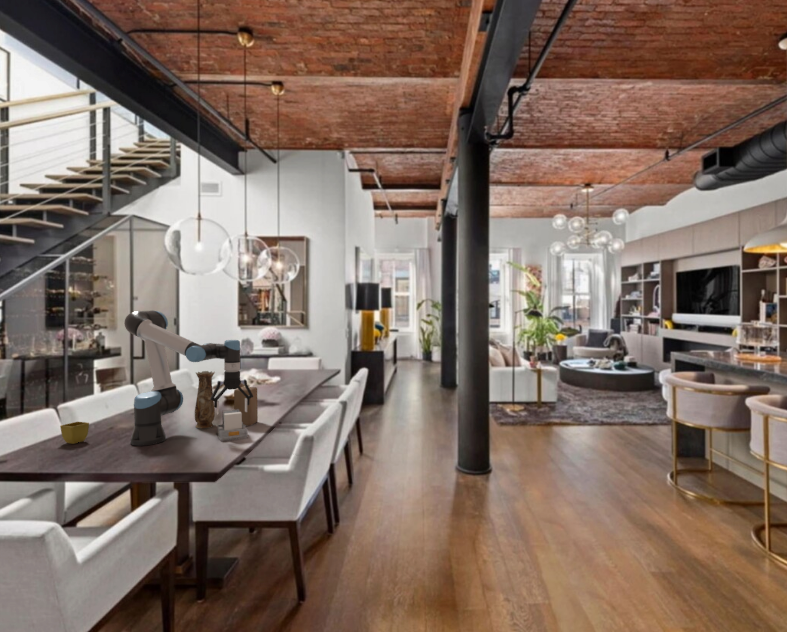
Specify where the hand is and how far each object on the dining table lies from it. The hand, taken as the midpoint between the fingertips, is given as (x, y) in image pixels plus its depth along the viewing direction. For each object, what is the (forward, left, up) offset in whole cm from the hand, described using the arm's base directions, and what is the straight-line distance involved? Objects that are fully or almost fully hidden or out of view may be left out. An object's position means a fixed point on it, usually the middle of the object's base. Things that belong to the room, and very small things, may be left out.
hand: (232, 412), depth 230 cm
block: (+10, +24, -12) cm, 29 cm away
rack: (0, +3, -12) cm, 12 cm away
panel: (0, 0, -11) cm, 11 cm away
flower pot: (-70, +26, -12) cm, 76 cm away
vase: (-11, +29, -12) cm, 34 cm away
